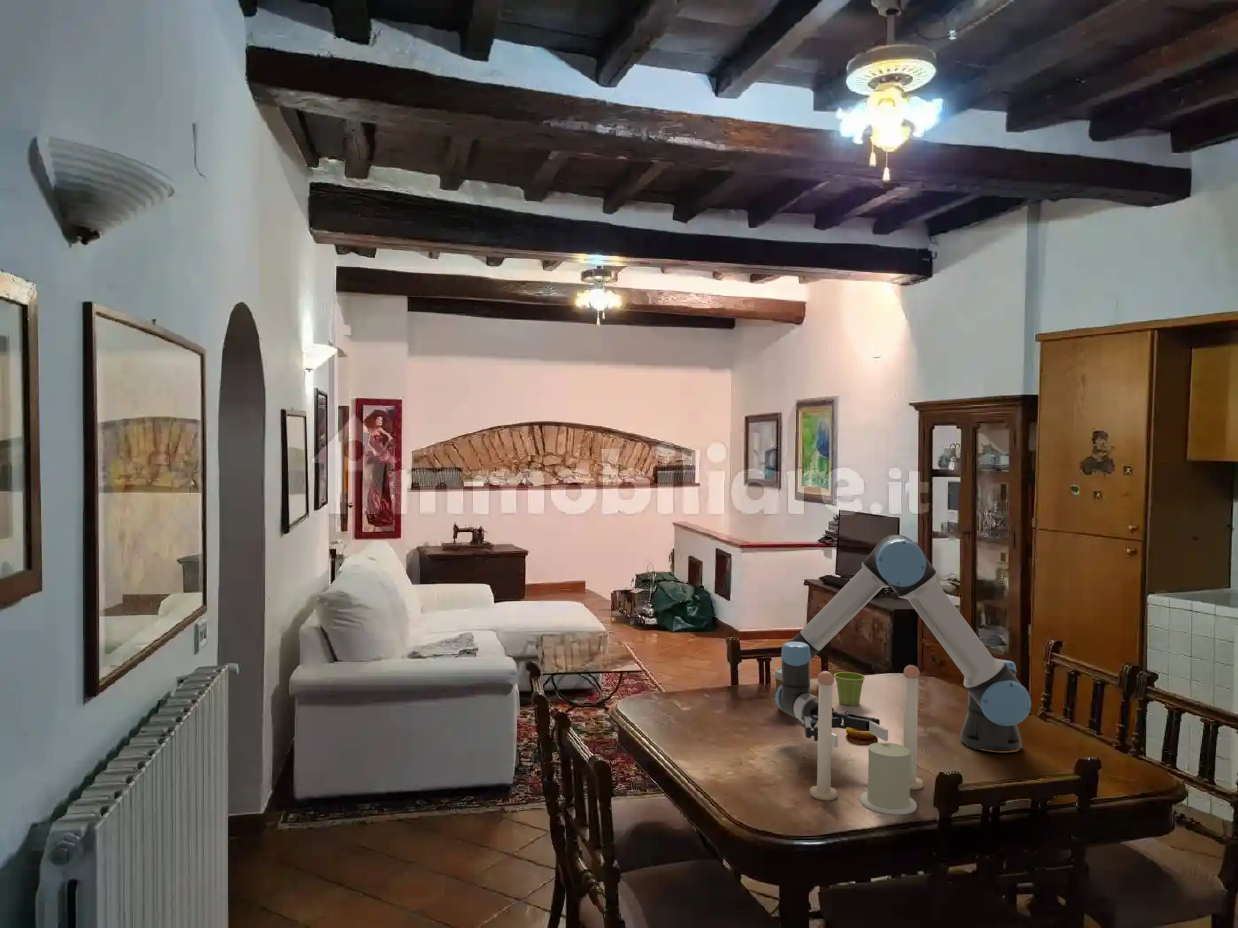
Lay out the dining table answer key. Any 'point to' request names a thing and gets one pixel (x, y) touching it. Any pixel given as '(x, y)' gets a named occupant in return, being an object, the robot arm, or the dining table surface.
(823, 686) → the gate
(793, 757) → the dining table surface
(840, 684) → the plant pot
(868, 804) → the coaster
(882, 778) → the can
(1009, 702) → the robot arm
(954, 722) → the dining table surface
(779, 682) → the disposable coffee cup
